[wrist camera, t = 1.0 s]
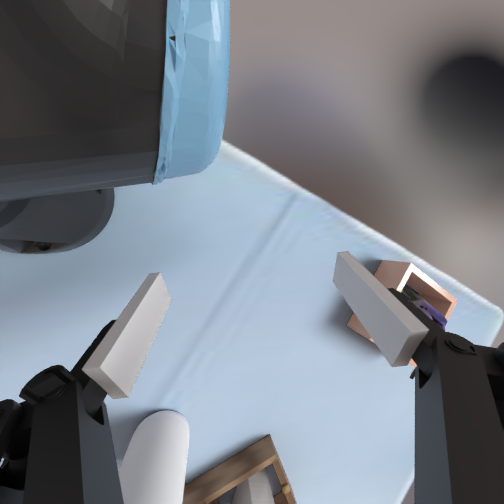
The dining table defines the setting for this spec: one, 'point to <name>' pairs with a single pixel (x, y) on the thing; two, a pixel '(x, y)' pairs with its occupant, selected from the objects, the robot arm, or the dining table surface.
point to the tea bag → (254, 490)
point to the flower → (427, 309)
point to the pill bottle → (156, 460)
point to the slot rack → (238, 475)
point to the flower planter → (407, 273)
